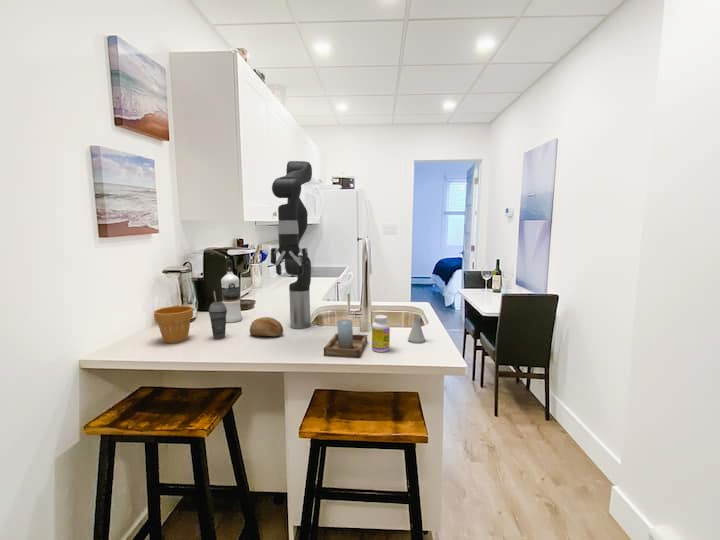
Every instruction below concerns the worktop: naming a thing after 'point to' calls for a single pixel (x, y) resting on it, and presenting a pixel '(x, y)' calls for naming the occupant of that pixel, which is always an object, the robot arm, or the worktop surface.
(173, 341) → the flower pot
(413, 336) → the flask
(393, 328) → the worktop surface
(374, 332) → the supplement bottle
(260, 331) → the bread roll
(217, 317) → the beverage cup
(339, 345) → the blue rounded capsule
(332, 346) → the tray
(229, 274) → the vodka
